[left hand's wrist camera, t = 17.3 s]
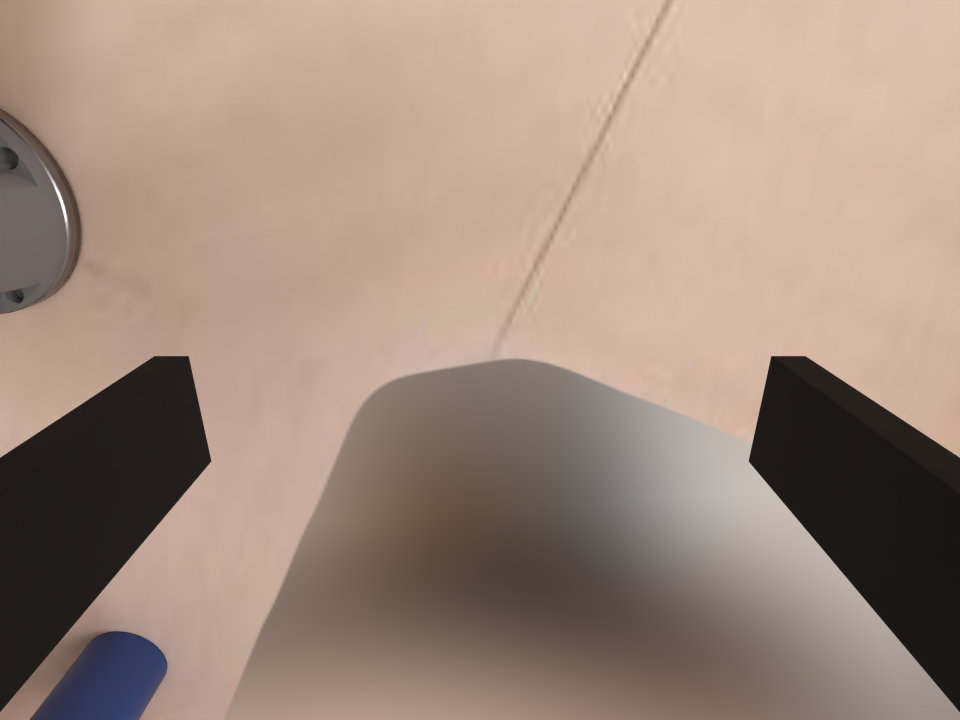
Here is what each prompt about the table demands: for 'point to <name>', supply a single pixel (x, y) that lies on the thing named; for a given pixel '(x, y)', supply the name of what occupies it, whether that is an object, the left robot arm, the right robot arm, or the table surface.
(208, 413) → the table surface
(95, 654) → the canister
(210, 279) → the table surface
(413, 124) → the table surface
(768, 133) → the table surface
